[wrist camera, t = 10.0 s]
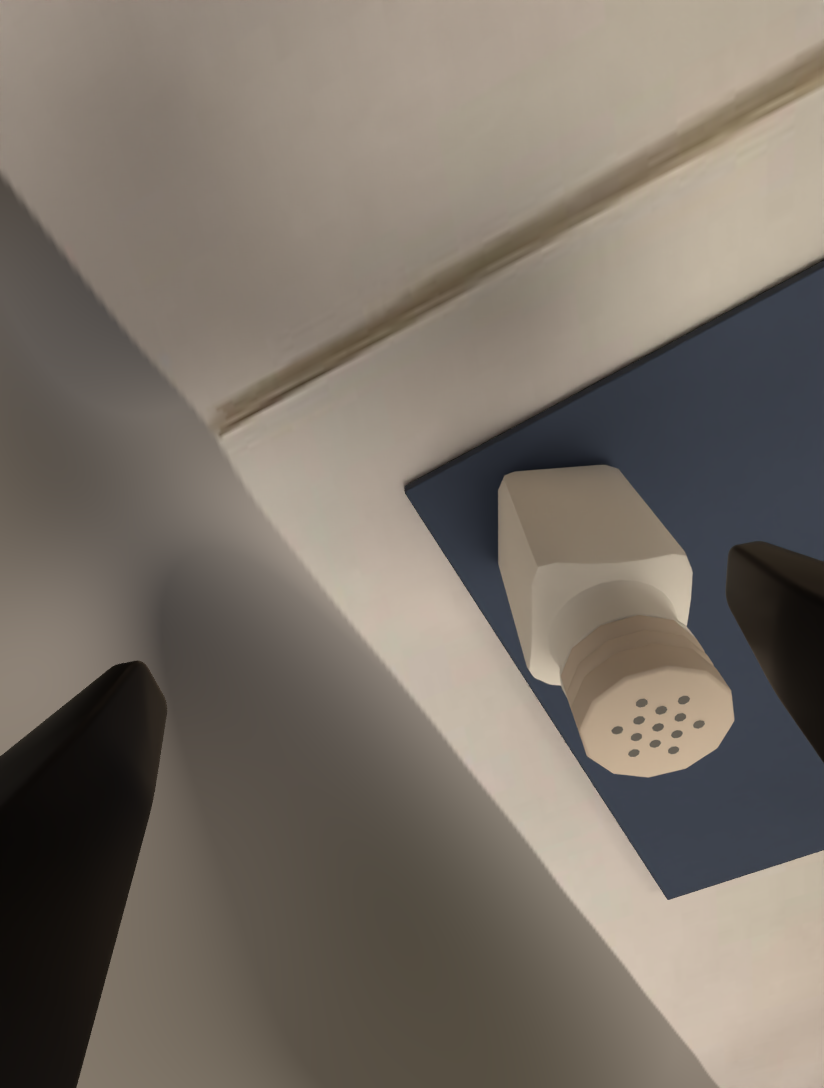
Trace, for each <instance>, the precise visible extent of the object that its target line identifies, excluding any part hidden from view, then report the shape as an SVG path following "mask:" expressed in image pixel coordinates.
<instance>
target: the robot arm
mask: <svg viewBox="0 0 824 1088" xmlns="http://www.w3.org/2000/svg"><path fill="white" fill-rule="evenodd" d="M726 599H727V603H728V606H729V608H730V610H731V612H732V614H733V616H734V617H735V619H736V621H737V623H738V625H739V627H740V629H741V631H742V632H743V634H744V636H745V638H746V640H747V642H748V644H749V645H750V647H751V649H752V651H753V653H754V655H755V657H756V659H757V660H758V662H759V664H760V666H761V668H762V670H763V672H764V674H765V675H766V677H767V679H768V681H769V683H770V684H771V686H772V688H773V690H774V691H775V693H776V695H777V696H778V698H779V699H780V701H781V702H782V704H783V705H784V707H785V708H786V710H787V711H788V712H789V714H790V715H791V717H792V718H793V720H794V721H795V723H796V724H797V725H798V727H799V728H800V730H801V731H802V733H803V734H804V736H805V737H806V738H807V740H808V741H809V743H810V744H811V746H812V747H813V748H814V750H815V751H816V753H817V754H818V756H819V757H820V759H821V760H822V761H823V763H824V561H821V560H818V559H815V558H812V557H809V556H806V555H803V554H800V553H797V552H794V551H791V550H788V549H785V548H782V547H779V546H776V545H773V544H770V543H767V542H763V541H754V542H749V543H744V544H739V545H735V546H733V547H732V548H731V549H730V551H729V554H728V562H727V576H726ZM166 716H167V704H166V700H165V697H164V695H163V693H162V691H161V690H160V688H159V686H158V685H157V683H156V681H155V679H154V677H153V676H152V674H151V672H150V670H149V668H148V667H147V666H146V664H144V663H143V662H141V661H133V662H127V663H122V664H118V665H115V666H113V667H111V668H110V669H109V670H107V671H106V672H105V673H104V674H102V675H101V676H100V677H99V678H97V679H96V680H95V681H94V682H92V683H91V684H90V685H89V686H88V687H86V688H85V689H84V690H82V691H81V692H80V693H79V694H77V695H76V696H75V697H74V698H72V699H71V700H70V701H69V702H68V703H66V704H65V705H64V706H62V707H61V708H60V709H59V710H57V711H56V712H55V713H54V714H52V715H51V716H50V717H49V718H48V719H46V720H45V721H44V722H43V723H41V724H40V725H39V726H38V727H36V728H35V729H34V730H33V731H31V732H30V733H29V734H28V735H27V736H25V737H24V738H23V739H21V740H20V741H19V742H18V743H16V744H15V745H14V746H13V747H11V748H10V749H9V750H8V751H7V752H5V753H4V754H3V755H1V756H0V1088H76V1086H77V1083H78V1079H79V1076H80V1071H81V1068H82V1065H83V1061H84V1057H85V1053H86V1049H87V1046H88V1042H89V1039H90V1035H91V1031H92V1027H93V1024H94V1020H95V1016H96V1013H97V1009H98V1005H99V1001H100V998H101V994H102V990H103V986H104V983H105V979H106V975H107V971H108V968H109V964H110V960H111V956H112V953H113V949H114V945H115V942H116V938H117V934H118V931H119V927H120V923H121V920H122V916H123V912H124V908H125V905H126V901H127V897H128V893H129V890H130V886H131V882H132V878H133V875H134V871H135V867H136V864H137V860H138V856H139V853H140V848H141V845H142V841H143V837H144V834H145V830H146V826H147V822H148V819H149V815H150V811H151V807H152V802H153V797H154V792H155V786H156V780H157V774H158V767H159V761H160V755H161V748H162V742H163V735H164V729H165V722H166Z"/></svg>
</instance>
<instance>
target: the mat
mask: <svg viewBox="0 0 824 1088" xmlns="http://www.w3.org/2000/svg"><path fill="white" fill-rule="evenodd" d="M591 465H608V466H611V467H614V468H617V469H619V470H620V472H621V473H622V474H623V475H624V477H625V478H626V479H627V480H628V482H629V483H630V484H631V485H632V487H633V488H634V489H635V490H636V491H637V493H638V494H639V495H640V496H641V498H642V499H643V500H644V501H645V503H646V504H647V505H648V506H649V508H650V509H651V510H652V511H653V513H654V514H655V515H656V516H657V518H658V519H659V520H660V521H661V523H662V524H663V525H664V526H665V528H666V529H667V530H668V531H669V533H670V534H671V535H672V536H673V538H674V539H675V540H676V541H677V543H678V544H679V545H680V546H681V548H682V549H683V550H684V551H685V553H686V556H687V558H688V561H689V563H690V566H691V568H692V572H693V576H692V590H691V602H690V609H689V615H688V622H687V628H688V629H689V630H690V631H691V632H692V634H693V635H694V636H695V638H696V639H697V640H698V642H699V643H700V645H701V646H702V648H703V649H704V651H705V654H707V655H708V657H709V658H710V660H711V661H712V663H713V665H714V667H715V668H716V669H717V670H718V672H719V673H720V675H721V676H722V678H723V679H724V681H725V682H726V684H727V685H728V687H729V688H730V690H731V693H732V702H733V711H734V722H733V724H732V725H731V727H730V729H729V730H728V732H727V733H726V735H725V737H724V738H723V740H722V741H721V743H720V745H719V746H718V748H717V749H715V750H714V751H712V752H711V753H709V754H708V755H706V756H704V757H703V758H701V759H700V760H698V761H697V762H695V763H694V764H692V765H691V766H689V767H687V768H686V769H682V770H678V771H674V772H669V773H665V774H661V775H657V776H653V777H649V778H648V777H639V776H630V775H621V774H613V773H612V772H610V771H609V770H607V769H606V768H604V767H603V766H601V765H600V764H598V763H597V762H595V761H593V760H592V759H590V758H589V757H588V756H587V755H586V752H585V749H584V746H583V743H582V740H581V737H580V734H579V731H578V728H577V725H576V723H575V720H574V716H573V713H572V711H571V708H570V705H569V702H568V699H567V697H566V695H565V693H564V691H563V689H562V687H561V686H560V685H550V684H547V683H545V682H543V681H541V680H538V679H536V678H534V677H533V676H532V674H531V673H530V671H529V669H528V668H527V665H526V662H525V658H524V655H523V651H522V647H521V644H520V640H519V637H518V633H517V629H516V626H515V622H514V619H513V615H512V611H511V608H510V604H509V601H508V597H507V593H506V590H505V586H504V583H503V579H502V575H501V572H500V568H499V565H498V489H499V487H500V485H501V482H502V480H503V478H504V475H507V474H509V473H512V472H514V471H527V470H540V469H552V468H565V467H578V466H591ZM404 489H405V494H406V495H407V497H408V499H409V500H410V502H411V503H412V505H413V506H414V508H415V509H416V511H417V512H418V514H419V516H420V517H421V519H422V520H423V522H424V523H425V525H426V526H427V528H428V530H429V531H430V533H431V534H432V536H433V537H434V539H435V540H436V542H437V543H438V545H439V547H440V548H441V550H442V551H443V553H444V554H445V556H446V557H447V559H448V561H449V562H450V564H451V565H452V567H453V568H454V570H455V571H456V573H457V574H458V576H459V578H460V579H461V581H462V582H463V584H464V585H465V587H466V588H467V590H468V591H469V593H470V595H471V596H472V598H473V599H474V601H475V602H476V604H477V605H478V607H479V609H480V610H481V612H482V613H483V615H484V616H485V618H486V619H487V621H488V622H489V624H490V626H491V627H492V629H493V630H494V632H495V633H496V635H497V636H498V638H499V639H500V641H501V643H502V644H503V646H504V647H505V649H506V650H507V652H508V653H509V655H510V657H511V658H512V660H513V661H514V663H515V664H516V666H517V667H518V669H519V670H520V672H521V674H522V675H523V677H524V678H525V680H526V681H527V683H528V684H529V686H530V687H531V689H532V691H533V692H534V694H535V695H536V697H537V698H538V700H539V701H540V703H541V705H542V706H543V708H544V709H545V711H546V712H547V714H548V715H549V717H550V718H551V720H552V722H553V723H554V725H555V726H556V728H557V729H558V731H559V732H560V734H561V736H562V737H563V739H564V740H565V742H566V743H567V745H568V746H569V748H570V749H571V751H572V753H573V754H574V756H575V757H576V759H577V760H578V762H579V763H580V765H581V766H582V768H583V770H584V771H585V773H586V774H587V776H588V777H589V779H590V780H591V782H592V784H593V785H594V787H595V788H596V790H597V791H598V793H599V794H600V796H601V797H602V799H603V801H604V802H605V804H606V805H607V807H608V808H609V810H610V811H611V813H612V814H613V816H614V818H615V819H616V821H617V822H618V824H619V825H620V827H621V828H622V830H623V832H624V833H625V835H626V836H627V838H628V839H629V841H630V842H631V844H632V845H633V847H634V849H635V850H636V852H637V853H638V855H639V856H640V858H641V859H642V861H643V862H644V864H645V866H646V867H647V869H648V870H649V872H650V873H651V875H652V876H653V878H654V880H655V881H656V883H657V884H658V886H659V887H660V889H661V890H662V892H663V893H664V895H665V897H666V898H667V899H668V900H670V899H673V898H676V897H679V896H682V895H685V894H688V893H691V892H695V891H698V890H701V889H704V888H707V887H710V886H713V885H716V884H719V883H723V882H726V881H729V880H732V879H735V878H738V877H741V876H744V875H747V874H751V873H754V872H757V871H760V870H763V869H766V868H769V867H772V866H775V865H779V864H782V863H785V862H788V861H791V860H794V859H797V858H800V857H804V856H807V855H810V854H813V853H816V852H819V851H822V850H824V763H823V761H822V760H821V759H820V757H819V756H818V754H817V753H816V751H815V750H814V748H813V747H812V746H811V744H810V743H809V741H808V740H807V738H806V737H805V736H804V734H803V733H802V731H801V730H800V728H799V727H798V725H797V724H796V723H795V721H794V720H793V718H792V717H791V715H790V714H789V712H788V711H787V710H786V708H785V707H784V705H783V704H782V702H781V701H780V699H779V698H778V696H777V695H776V693H775V691H774V690H773V688H772V686H771V684H770V683H769V681H768V679H767V677H766V675H765V674H764V672H763V670H762V668H761V666H760V664H759V662H758V660H757V659H756V657H755V655H754V653H753V651H752V649H751V647H750V645H749V644H748V642H747V640H746V638H745V636H744V634H743V632H742V631H741V629H740V627H739V625H738V623H737V621H736V619H735V617H734V616H733V614H732V612H731V610H730V608H729V606H728V603H727V599H726V576H727V562H728V554H729V551H730V549H731V548H732V547H733V546H735V545H739V544H744V543H749V542H754V541H763V542H767V543H770V544H773V545H776V546H779V547H782V548H785V549H788V550H791V551H794V552H797V553H800V554H803V555H806V556H809V557H812V558H815V559H818V560H821V561H824V260H823V261H822V262H820V263H818V264H816V265H814V266H812V267H810V268H809V269H807V270H805V271H803V272H801V273H799V274H797V275H796V276H794V277H792V278H790V279H788V280H786V281H784V282H783V283H781V284H779V285H777V286H775V287H773V288H771V289H770V290H768V291H766V292H764V293H762V294H760V295H758V296H757V297H755V298H753V299H751V300H749V301H747V302H745V303H744V304H742V305H740V306H738V307H736V308H734V309H732V310H731V311H729V312H727V313H725V314H723V315H721V316H719V317H718V318H716V319H714V320H712V321H710V322H708V323H707V324H705V325H703V326H701V327H699V328H697V329H695V330H694V331H692V332H690V333H688V334H686V335H684V336H682V337H681V338H679V339H677V340H675V341H673V342H671V343H669V344H668V345H666V346H664V347H662V348H660V349H658V350H656V351H655V352H653V353H651V354H649V355H647V356H645V357H643V358H642V359H640V360H638V361H636V362H634V363H632V364H630V365H629V366H627V367H625V368H623V369H621V370H619V371H617V372H616V373H614V374H612V375H610V376H608V377H606V378H604V379H603V380H601V381H599V382H597V383H595V384H593V385H591V386H590V387H588V388H586V389H584V390H582V391H580V392H578V393H577V394H575V395H573V396H571V397H569V398H567V399H565V400H564V401H562V402H560V403H558V404H556V405H554V406H552V407H551V408H549V409H547V410H545V411H543V412H541V413H539V414H538V415H536V416H534V417H532V418H530V419H528V420H526V421H525V422H523V423H521V424H519V425H517V426H515V427H513V428H512V429H510V430H508V431H506V432H504V433H502V434H500V435H499V436H497V437H495V438H493V439H491V440H489V441H487V442H486V443H484V444H482V445H480V446H478V447H476V448H474V449H473V450H471V451H469V452H467V453H465V454H463V455H461V456H460V457H458V458H456V459H454V460H452V461H450V462H449V463H447V464H445V465H443V466H441V467H439V468H437V469H436V470H434V471H432V472H430V473H428V474H426V475H424V476H423V477H421V478H419V479H417V480H415V481H413V482H411V483H410V484H408V485H406V486H405V487H404Z"/></svg>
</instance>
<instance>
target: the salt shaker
mask: <svg viewBox="0 0 824 1088" xmlns="http://www.w3.org/2000/svg"><path fill="white" fill-rule="evenodd" d="M498 565H499V568H500V572H501V575H502V579H503V583H504V586H505V590H506V593H507V597H508V601H509V604H510V608H511V611H512V615H513V619H514V622H515V626H516V629H517V633H518V637H519V640H520V644H521V647H522V651H523V655H524V658H525V662H526V665H527V668H528V669H529V671H530V673H531V674H532V676H533V677H534V678H536V679H538V680H541V681H543V682H545V683H547V684H550V685H560V686H561V687H562V689H563V691H564V693H565V695H566V697H567V699H568V702H569V705H570V708H571V711H572V713H573V716H574V720H575V723H576V725H577V728H578V731H579V734H580V737H581V740H582V743H583V746H584V749H585V752H586V755H587V756H588V757H589V758H590V759H592V760H593V761H595V762H597V763H598V764H600V765H601V766H603V767H604V768H606V769H607V770H609V771H610V772H612V773H613V774H621V775H630V776H639V777H648V778H649V777H653V776H657V775H661V774H665V773H669V772H674V771H678V770H682V769H686V768H687V767H689V766H691V765H692V764H694V763H695V762H697V761H698V760H700V759H701V758H703V757H704V756H706V755H708V754H709V753H711V752H712V751H714V750H715V749H717V748H718V746H719V745H720V743H721V741H722V740H723V738H724V737H725V735H726V733H727V732H728V730H729V729H730V727H731V725H732V724H733V722H734V711H733V702H732V693H731V690H730V688H729V687H728V685H727V684H726V682H725V681H724V679H723V678H722V676H721V675H720V673H719V672H718V670H717V669H716V668H715V667H714V665H713V663H712V661H711V660H710V658H709V657H708V655H707V654H705V651H704V649H703V648H702V646H701V645H700V643H699V642H698V640H697V639H696V638H695V636H694V635H693V634H692V632H691V631H690V630H689V629H688V628H687V622H688V615H689V609H690V602H691V590H692V576H693V572H692V568H691V566H690V563H689V561H688V558H687V556H686V553H685V551H684V550H683V549H682V548H681V546H680V545H679V544H678V543H677V541H676V540H675V539H674V538H673V536H672V535H671V534H670V533H669V531H668V530H667V529H666V528H665V526H664V525H663V524H662V523H661V521H660V520H659V519H658V518H657V516H656V515H655V514H654V513H653V511H652V510H651V509H650V508H649V506H648V505H647V504H646V503H645V501H644V500H643V499H642V498H641V496H640V495H639V494H638V493H637V491H636V490H635V489H634V488H633V487H632V485H631V484H630V483H629V482H628V480H627V479H626V478H625V477H624V475H623V474H622V473H621V472H620V470H619V469H617V468H614V467H611V466H608V465H591V466H578V467H565V468H552V469H540V470H527V471H514V472H512V473H509V474H507V475H504V478H503V480H502V482H501V485H500V487H499V489H498Z"/></svg>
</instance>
